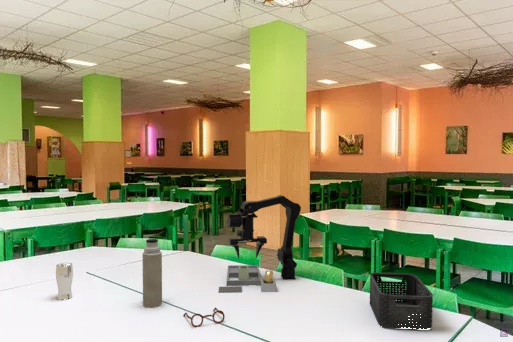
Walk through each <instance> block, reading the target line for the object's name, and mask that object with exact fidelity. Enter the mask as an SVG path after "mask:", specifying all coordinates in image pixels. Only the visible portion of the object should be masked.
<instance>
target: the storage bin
mask: <svg viewBox="0 0 513 342" xmlns="http://www.w3.org/2000/svg"><path fill="white" fill-rule="evenodd" d="M369 277H370V278H369V305H370V308H371V311H372V313H373V315H374V317H375V319H376V321H377V324H378V326H379V325H380V326H379V327H381V326H382V327H381V328H383V327H385V328H384V329H386V328H401V327H403V328H404V327H406V328H408V327H410V328H412V329H413V328H416V329H419V328H421V329H423V328H424V329H427V328H431V327H432V328H433V312H434V311H433V307H434V305H433V301H434V299H433V297H434V294H433V293H432V292H431V290H430V289H429V288H428V287H427V286H426V285H425V284H424V283H423V281H422V280H421V279H420V278H419V277H418V276H417V275H415V274H413V273H399V272H398V273H397V272H395V273H394V272H372V273H370V274H369ZM383 277H385V278H402V280H401V281H390V280H389V281H388V280H387V281H385V280H382V278H383ZM412 314H414V315H412ZM416 314H417V315H416ZM420 314H421V315H420ZM408 316H410V317H408ZM420 317H421V318H420ZM408 319H410V320H408ZM412 319H413V320H412ZM409 322H410V323H409ZM412 322H413V323H412ZM416 322H417V323H416ZM398 324H399V325H398ZM401 324H402V325H401ZM405 324H406V325H405ZM413 325H414V326H413ZM416 325H417V326H416ZM420 325H421V326H420Z"/></svg>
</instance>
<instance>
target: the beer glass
mask: <svg viewBox="0 0 513 342" xmlns="http://www.w3.org/2000/svg"><path fill="white" fill-rule="evenodd" d="M73 267H74V266H73V263H72V262H62V263H59V264H56V267H55V279H56V284H57V298H58V299H67V300H69V299H68V298H70V299H71V297H72V298H73V292H72V286H73V278H74V269H73ZM57 298H56V299H57ZM58 299H57V300H58Z"/></svg>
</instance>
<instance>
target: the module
mask: <svg viewBox="0 0 513 342" xmlns="http://www.w3.org/2000/svg"><path fill="white" fill-rule="evenodd" d="M249 278H250V277H249V267H248V266H239V277H238V280H250V279H249Z"/></svg>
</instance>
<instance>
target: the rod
mask: <svg viewBox="0 0 513 342" xmlns="http://www.w3.org/2000/svg"><path fill="white" fill-rule="evenodd" d="M264 273H265V275H264V280H265V283H272V281H273V279H274V271H273V270H265V271H264Z"/></svg>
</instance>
